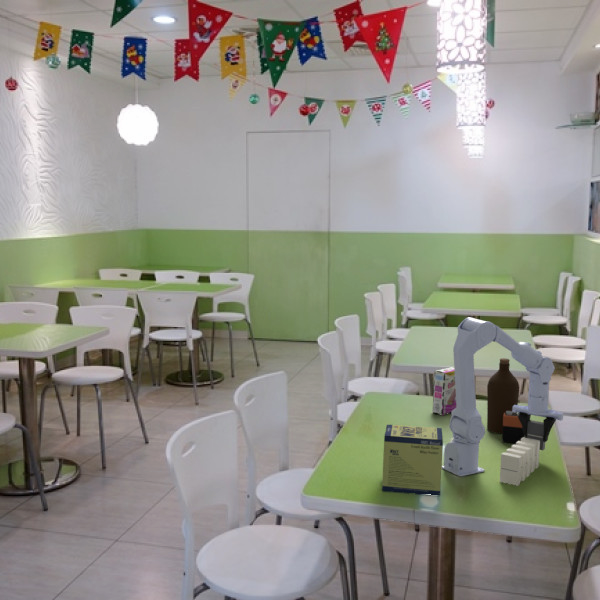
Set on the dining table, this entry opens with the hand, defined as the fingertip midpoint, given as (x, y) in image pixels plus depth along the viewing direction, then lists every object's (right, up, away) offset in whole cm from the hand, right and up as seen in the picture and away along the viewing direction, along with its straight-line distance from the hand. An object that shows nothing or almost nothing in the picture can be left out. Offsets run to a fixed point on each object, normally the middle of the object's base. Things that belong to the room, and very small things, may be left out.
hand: (535, 439), depth 208 cm
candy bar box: (-16, -1, +52) cm, 55 cm away
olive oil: (-1, -3, +31) cm, 31 cm away
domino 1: (-13, -9, -17) cm, 23 cm away
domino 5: (0, -3, 0) cm, 3 cm away
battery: (-1, -5, +18) cm, 19 cm away
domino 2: (-11, -8, -14) cm, 19 cm away
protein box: (-41, -9, -21) cm, 47 cm away
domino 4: (-6, -8, -7) cm, 12 cm away
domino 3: (-8, -8, -10) cm, 15 cm away
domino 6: (-3, -7, -4) cm, 9 cm away
